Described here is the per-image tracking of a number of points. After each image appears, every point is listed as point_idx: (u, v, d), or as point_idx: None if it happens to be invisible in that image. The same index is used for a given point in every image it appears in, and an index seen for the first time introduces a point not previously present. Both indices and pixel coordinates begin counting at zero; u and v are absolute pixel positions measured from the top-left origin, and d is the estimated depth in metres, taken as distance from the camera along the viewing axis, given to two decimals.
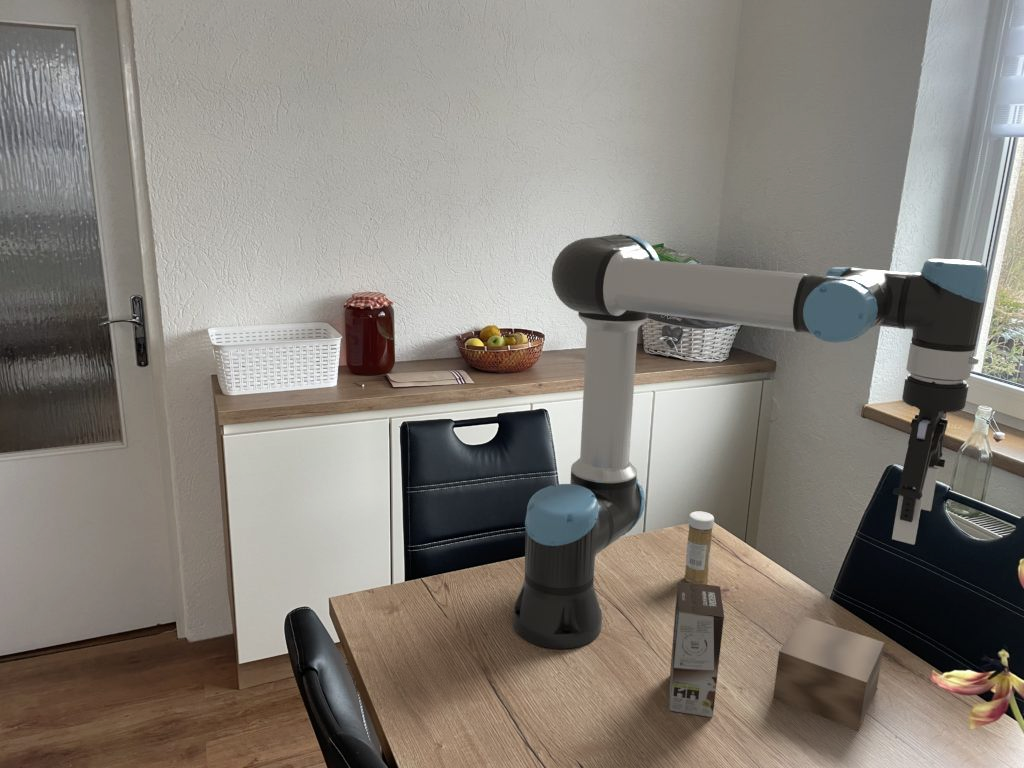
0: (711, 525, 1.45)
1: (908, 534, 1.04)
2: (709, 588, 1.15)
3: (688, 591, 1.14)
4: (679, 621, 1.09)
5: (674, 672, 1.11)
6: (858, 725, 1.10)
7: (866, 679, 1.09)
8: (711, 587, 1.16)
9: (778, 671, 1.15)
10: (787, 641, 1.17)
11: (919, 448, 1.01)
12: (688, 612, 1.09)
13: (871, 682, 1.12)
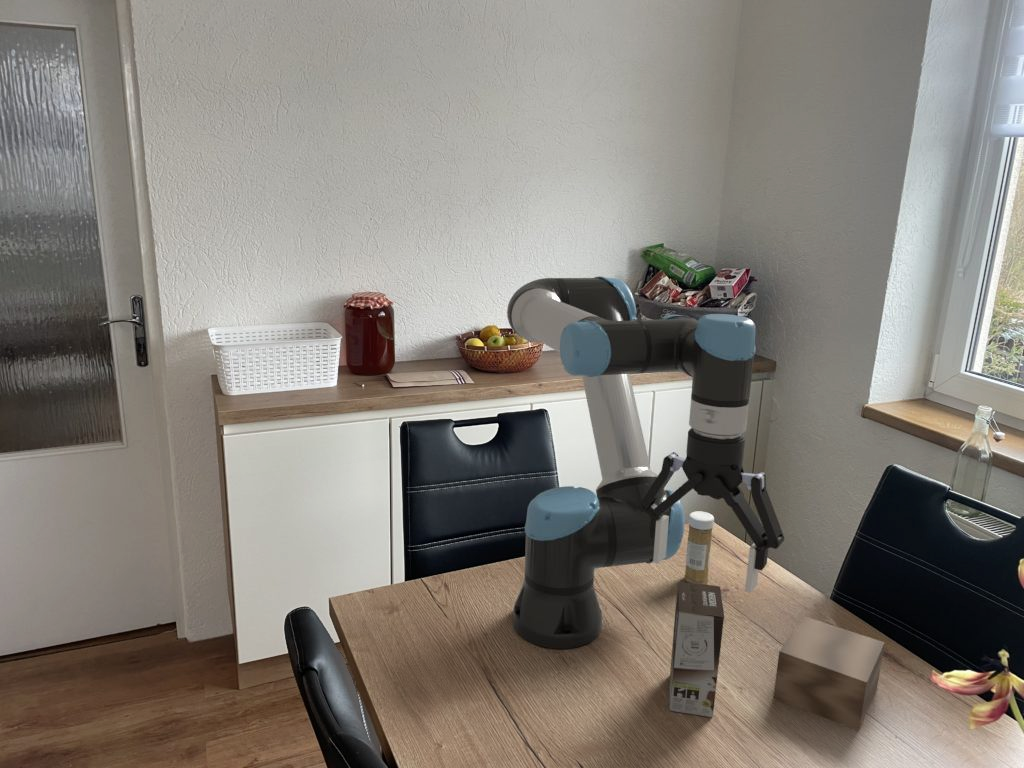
0: (711, 525, 1.45)
1: None
2: (709, 588, 1.15)
3: (688, 591, 1.14)
4: (679, 621, 1.09)
5: (674, 672, 1.11)
6: (858, 725, 1.10)
7: (866, 679, 1.09)
8: (711, 587, 1.16)
9: (778, 671, 1.15)
10: (787, 641, 1.17)
11: None
12: (688, 612, 1.09)
13: (871, 682, 1.13)
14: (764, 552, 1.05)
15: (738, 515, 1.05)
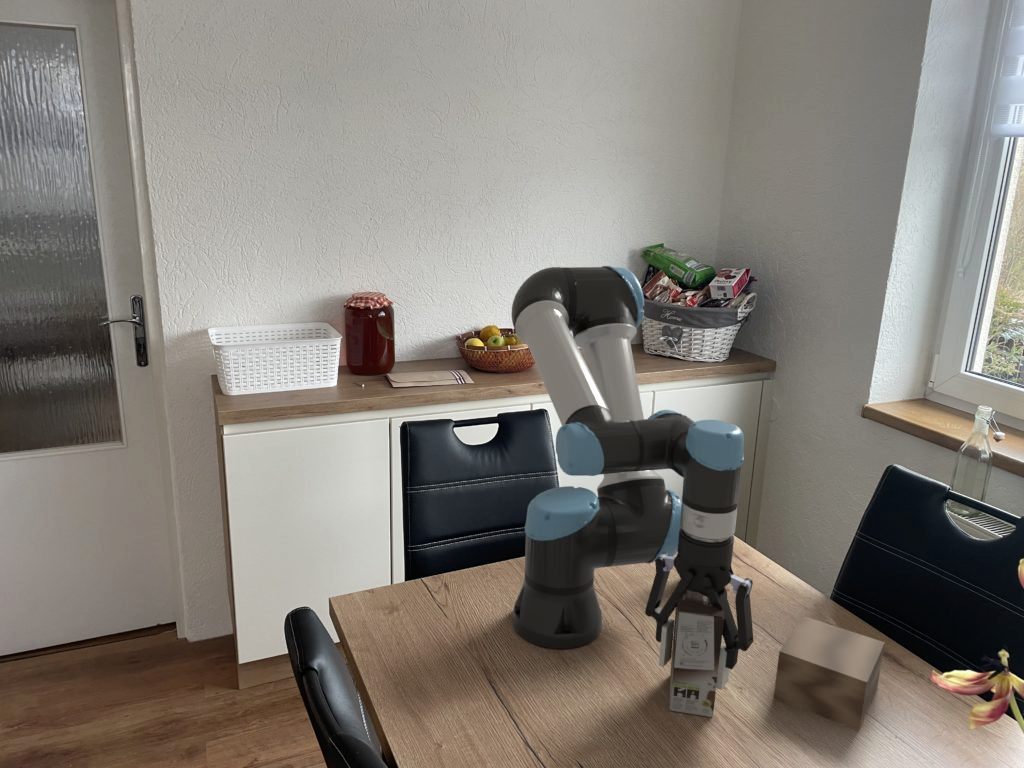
0: None
1: None
2: None
3: (689, 591, 1.14)
4: (679, 621, 1.09)
5: (674, 672, 1.11)
6: (858, 725, 1.10)
7: (866, 679, 1.09)
8: None
9: (778, 671, 1.15)
10: (787, 641, 1.17)
11: None
12: (688, 612, 1.09)
13: (871, 682, 1.13)
14: (734, 653, 1.10)
15: None
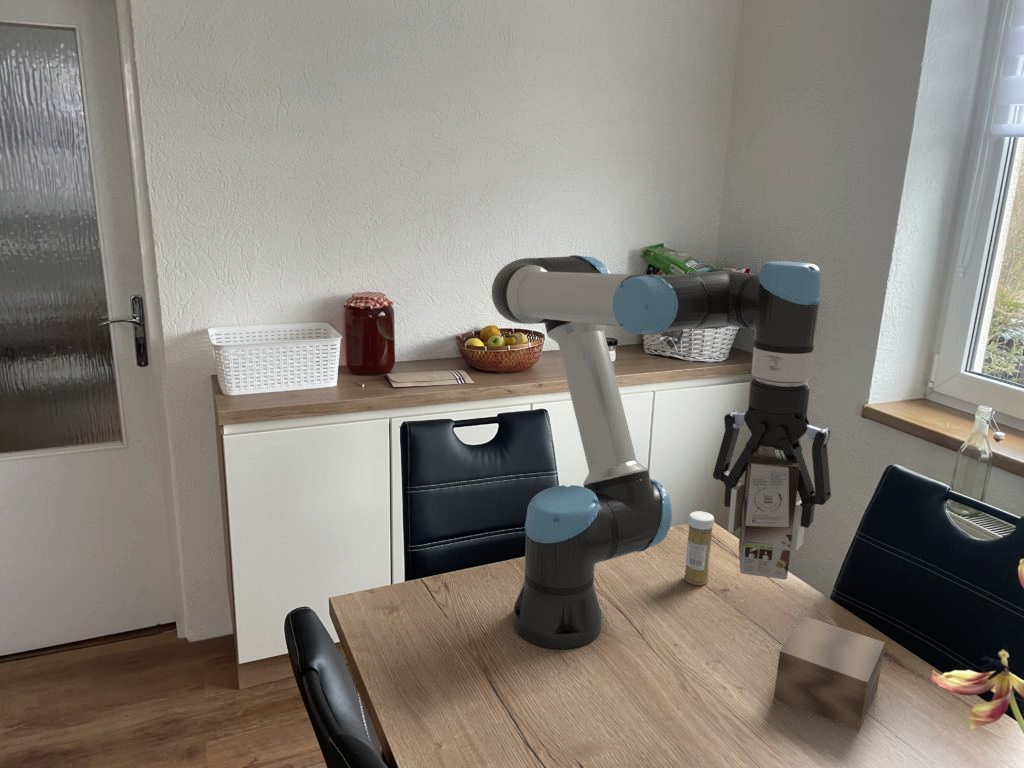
0: (711, 525, 1.45)
1: None
2: None
3: (760, 450, 1.09)
4: (751, 473, 1.04)
5: (746, 530, 1.06)
6: (859, 725, 1.10)
7: (867, 679, 1.09)
8: None
9: (779, 671, 1.15)
10: (788, 641, 1.17)
11: None
12: (761, 463, 1.03)
13: (872, 682, 1.13)
14: (810, 509, 1.04)
15: None
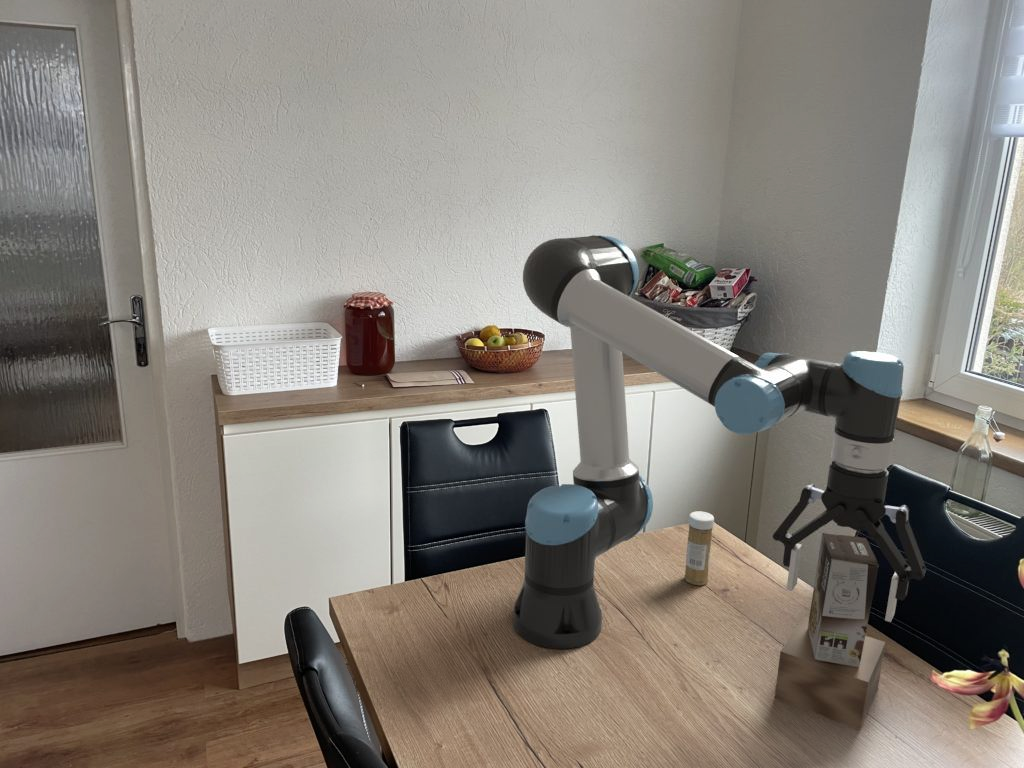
0: (711, 525, 1.45)
1: None
2: (856, 539, 1.15)
3: (836, 541, 1.14)
4: (831, 568, 1.09)
5: (822, 620, 1.11)
6: (860, 725, 1.10)
7: (867, 679, 1.09)
8: (857, 539, 1.15)
9: (779, 671, 1.15)
10: (788, 641, 1.17)
11: None
12: (841, 559, 1.08)
13: (872, 682, 1.13)
14: (906, 583, 1.07)
15: (880, 547, 1.08)
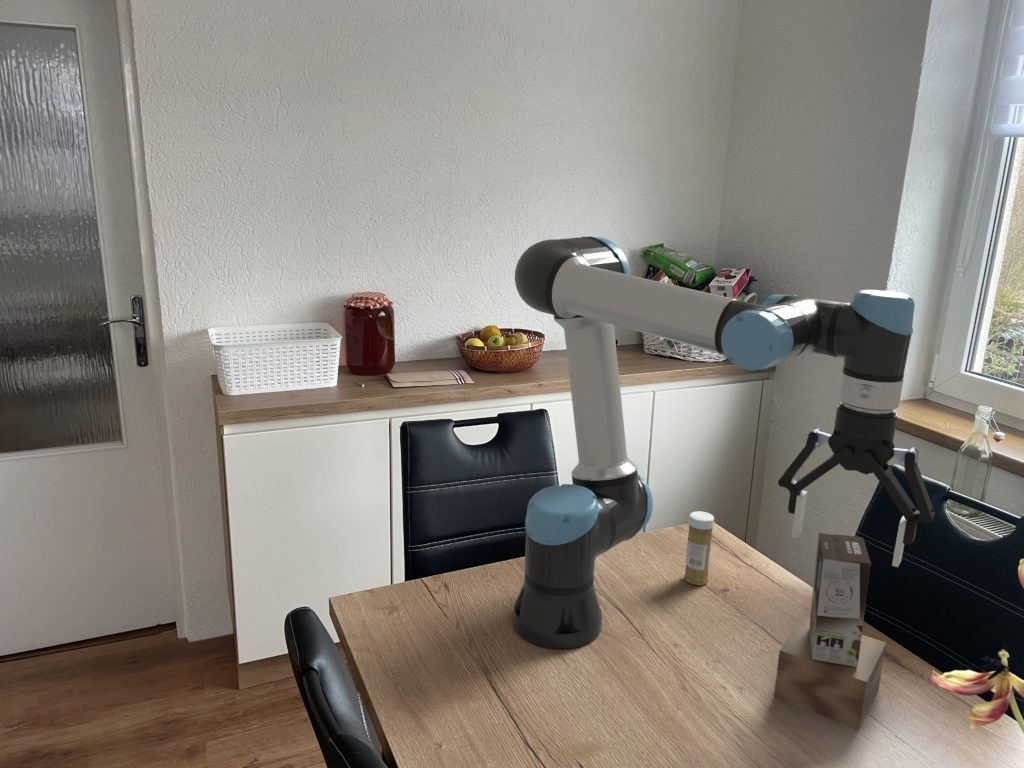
0: (711, 525, 1.45)
1: None
2: (852, 538, 1.14)
3: (831, 541, 1.14)
4: (823, 568, 1.09)
5: (817, 620, 1.11)
6: (858, 725, 1.10)
7: (866, 679, 1.09)
8: (854, 538, 1.15)
9: (779, 670, 1.16)
10: (788, 640, 1.17)
11: None
12: (833, 558, 1.09)
13: (872, 682, 1.13)
14: (914, 527, 1.05)
15: (888, 490, 1.06)
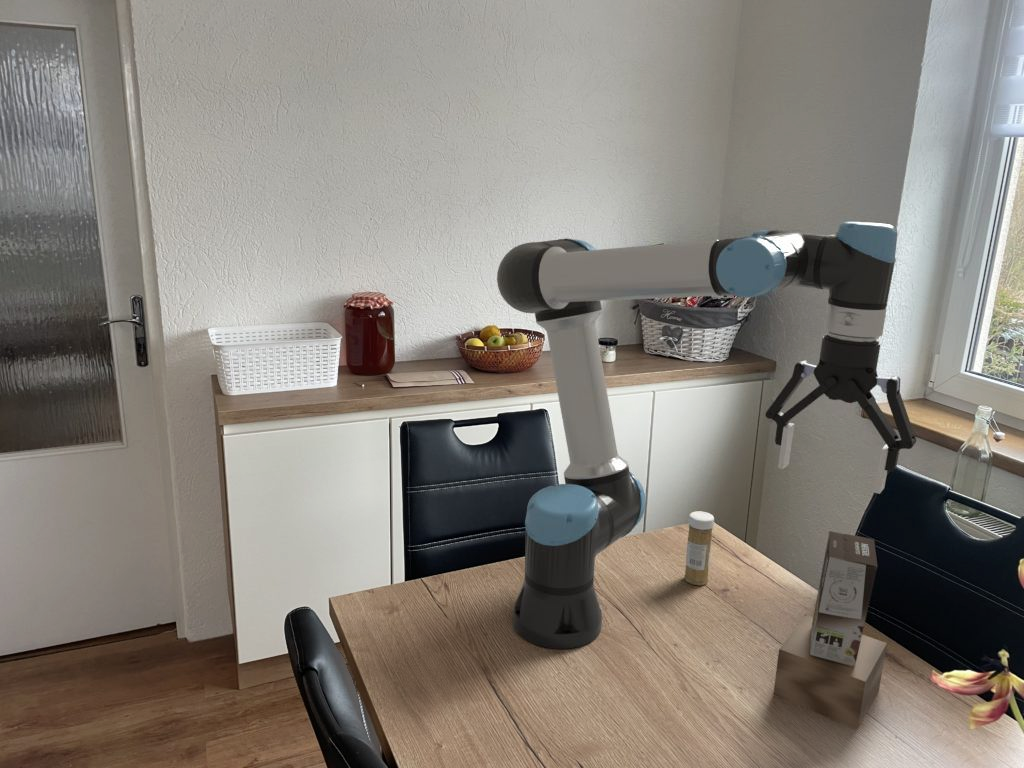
0: (711, 525, 1.45)
1: None
2: (862, 539, 1.14)
3: (840, 540, 1.14)
4: (829, 566, 1.09)
5: (818, 617, 1.11)
6: (857, 724, 1.10)
7: (865, 678, 1.09)
8: (864, 539, 1.14)
9: (778, 669, 1.16)
10: (788, 639, 1.18)
11: None
12: (839, 558, 1.08)
13: (871, 682, 1.13)
14: (896, 453, 1.08)
15: (871, 417, 1.09)
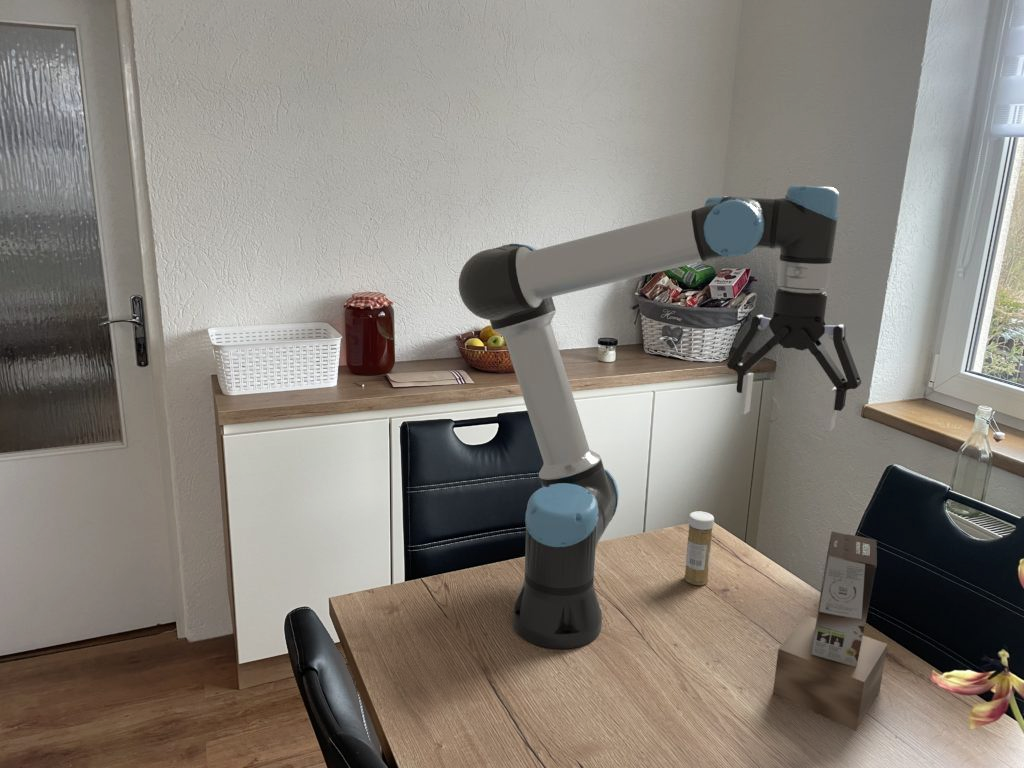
0: (711, 525, 1.45)
1: None
2: (864, 540, 1.14)
3: (841, 540, 1.14)
4: (828, 565, 1.10)
5: (819, 616, 1.12)
6: (856, 725, 1.10)
7: (864, 679, 1.09)
8: (866, 540, 1.14)
9: (777, 668, 1.16)
10: (788, 639, 1.18)
11: None
12: (838, 557, 1.09)
13: (871, 683, 1.12)
14: (843, 394, 1.20)
15: (820, 362, 1.20)
